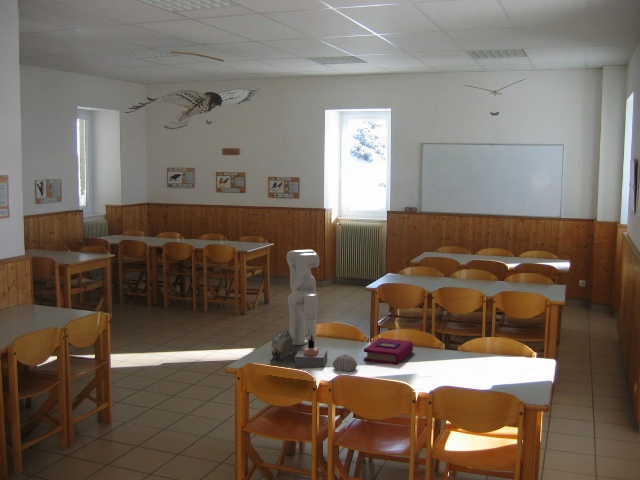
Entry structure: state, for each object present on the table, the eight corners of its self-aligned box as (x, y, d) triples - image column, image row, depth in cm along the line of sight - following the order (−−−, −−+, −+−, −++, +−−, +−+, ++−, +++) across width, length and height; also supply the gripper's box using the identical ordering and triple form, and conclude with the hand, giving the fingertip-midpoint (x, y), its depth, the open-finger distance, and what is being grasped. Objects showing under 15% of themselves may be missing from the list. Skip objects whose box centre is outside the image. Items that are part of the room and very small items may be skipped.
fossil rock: (282, 367, 380) (278, 343, 375) (267, 366, 383) (262, 342, 379) (297, 351, 398) (293, 327, 393) (282, 350, 402) (278, 327, 397)
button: (306, 352, 379) (306, 346, 379) (318, 352, 378) (318, 347, 378) (304, 355, 372) (304, 350, 372) (316, 355, 371) (316, 350, 371)
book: (413, 352, 395) (413, 340, 394) (398, 365, 370) (398, 352, 369) (379, 349, 404) (379, 336, 403) (362, 361, 378) (362, 348, 378)
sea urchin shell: (336, 374, 355) (336, 359, 354) (329, 366, 368) (329, 352, 367) (360, 372, 358) (360, 357, 357) (352, 364, 371) (352, 350, 370)
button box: (299, 358, 385) (299, 348, 384) (327, 359, 382) (327, 349, 382) (294, 366, 369) (294, 356, 368) (323, 367, 367) (323, 357, 366)
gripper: (306, 312, 380) (306, 344, 382) (302, 318, 366) (302, 351, 368) (319, 313, 379) (319, 344, 381) (315, 319, 365) (316, 351, 367)
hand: (311, 347), depth 374 cm, fingers closed
